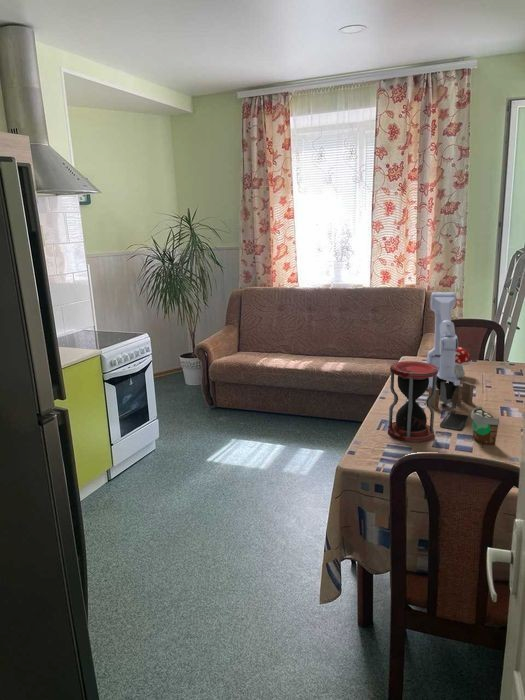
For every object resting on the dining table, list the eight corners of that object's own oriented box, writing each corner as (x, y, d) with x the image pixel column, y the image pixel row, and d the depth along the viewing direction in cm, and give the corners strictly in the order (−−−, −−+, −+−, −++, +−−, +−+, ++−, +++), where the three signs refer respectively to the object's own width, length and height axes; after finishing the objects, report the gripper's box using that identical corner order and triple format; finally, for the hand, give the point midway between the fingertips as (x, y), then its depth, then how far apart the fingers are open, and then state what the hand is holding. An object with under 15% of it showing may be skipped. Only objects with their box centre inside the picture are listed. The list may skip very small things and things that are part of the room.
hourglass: (390, 422, 196) (393, 359, 190) (435, 427, 190) (439, 362, 184) (384, 438, 182) (387, 371, 175) (432, 445, 176) (436, 375, 170)
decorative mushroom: (439, 379, 246) (441, 349, 242) (441, 371, 259) (443, 342, 255) (470, 382, 241) (473, 351, 237) (471, 374, 253) (473, 344, 250)
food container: (462, 433, 185) (464, 407, 182) (479, 432, 185) (481, 406, 183) (479, 447, 173) (482, 420, 170) (497, 446, 173) (499, 419, 171)
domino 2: (446, 403, 210) (448, 385, 208) (439, 400, 215) (440, 381, 213) (449, 403, 211) (451, 384, 209) (442, 399, 215) (443, 381, 213)
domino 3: (457, 405, 212) (459, 386, 210) (450, 401, 217) (451, 383, 215) (461, 404, 213) (462, 386, 211) (453, 401, 217) (454, 383, 215)
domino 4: (468, 403, 214) (470, 385, 212) (461, 399, 218) (462, 382, 216) (472, 403, 214) (473, 384, 212) (464, 399, 219) (465, 381, 217)
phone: (439, 425, 191) (448, 412, 203) (439, 428, 191) (448, 414, 203) (461, 429, 186) (469, 415, 199) (461, 432, 187) (469, 418, 199)
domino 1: (434, 408, 209) (436, 390, 207) (427, 404, 213) (429, 386, 212) (438, 408, 209) (439, 389, 208) (431, 404, 214) (432, 386, 212)
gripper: (467, 369, 203) (464, 401, 207) (444, 360, 217) (442, 390, 220) (452, 370, 201) (449, 403, 205) (430, 361, 215) (428, 392, 218)
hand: (445, 397), depth 212 cm, fingers closed on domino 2, 5 cm apart
